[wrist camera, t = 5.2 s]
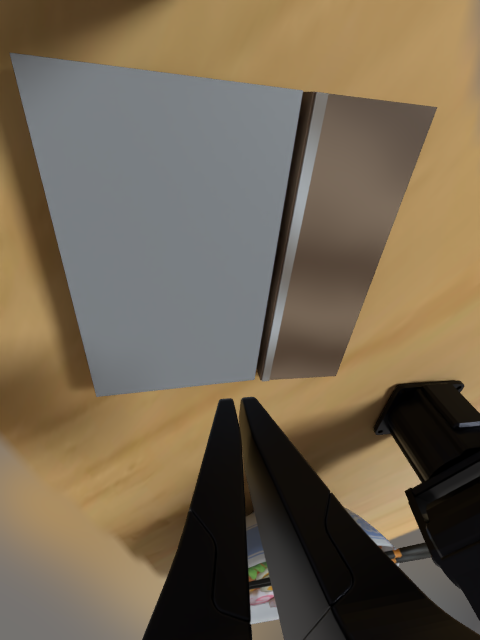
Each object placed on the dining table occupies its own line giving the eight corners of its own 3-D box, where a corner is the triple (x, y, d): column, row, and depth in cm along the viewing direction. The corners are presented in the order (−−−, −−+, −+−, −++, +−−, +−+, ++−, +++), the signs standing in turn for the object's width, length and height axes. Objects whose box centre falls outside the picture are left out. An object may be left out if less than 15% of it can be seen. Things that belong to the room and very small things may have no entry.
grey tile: (249, 367, 22) (254, 379, 21) (99, 382, 20) (96, 396, 19) (291, 90, 13) (302, 90, 12) (21, 56, 11) (9, 52, 10)
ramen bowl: (181, 566, 43) (182, 651, 36) (159, 482, 29) (154, 593, 23) (351, 534, 46) (380, 606, 40) (401, 445, 33) (456, 532, 26)
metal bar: (328, 362, 23) (336, 377, 22) (256, 366, 22) (260, 381, 21) (417, 106, 14) (438, 107, 13) (301, 92, 13) (314, 91, 12)
